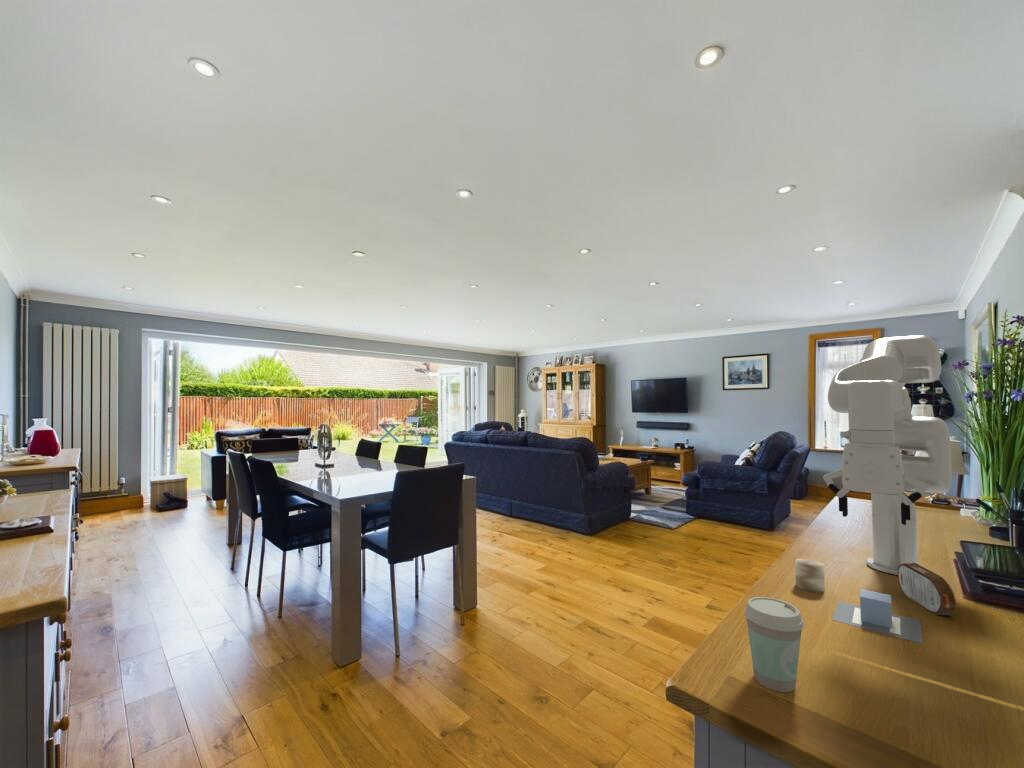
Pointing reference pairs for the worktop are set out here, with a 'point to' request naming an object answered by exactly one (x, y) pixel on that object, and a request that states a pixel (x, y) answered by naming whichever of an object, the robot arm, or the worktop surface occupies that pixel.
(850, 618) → the letter card
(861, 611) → the blue cube
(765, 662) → the coffee cup
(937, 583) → the tin
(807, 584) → the beige streaked cube
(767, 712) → the worktop surface
